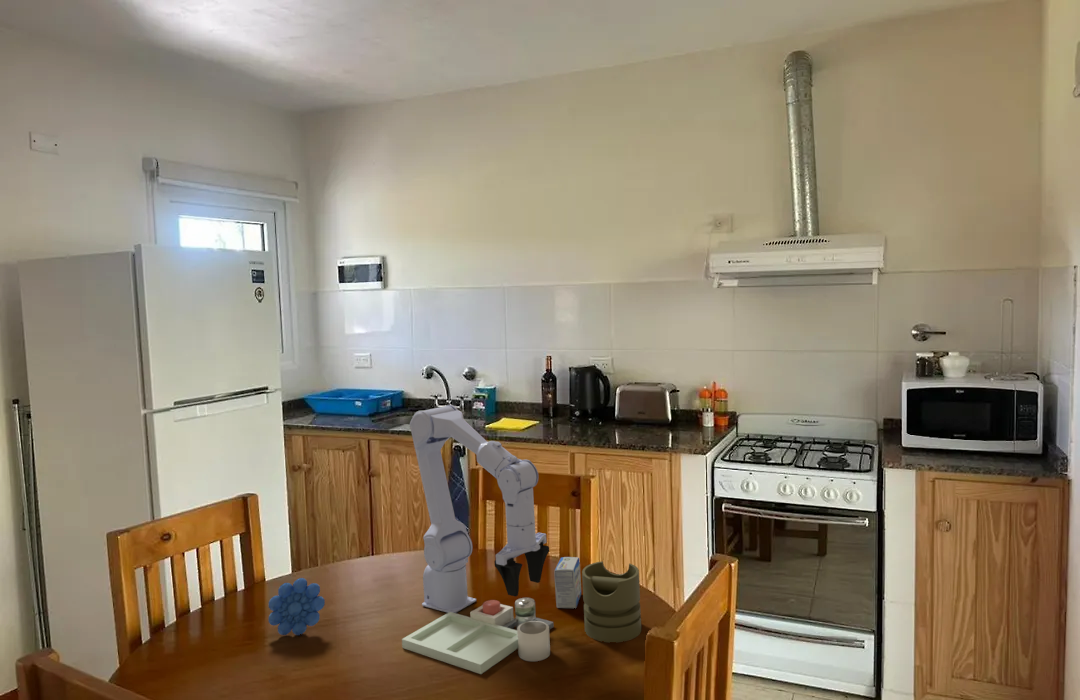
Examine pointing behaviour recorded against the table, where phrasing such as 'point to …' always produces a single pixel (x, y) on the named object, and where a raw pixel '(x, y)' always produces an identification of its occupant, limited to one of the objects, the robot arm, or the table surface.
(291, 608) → the blue flower
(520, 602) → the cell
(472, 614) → the frame
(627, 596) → the piston
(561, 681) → the table surface
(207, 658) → the table surface
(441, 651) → the trough tray
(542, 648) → the cup
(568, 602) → the medicine box
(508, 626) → the cradle
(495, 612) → the button
